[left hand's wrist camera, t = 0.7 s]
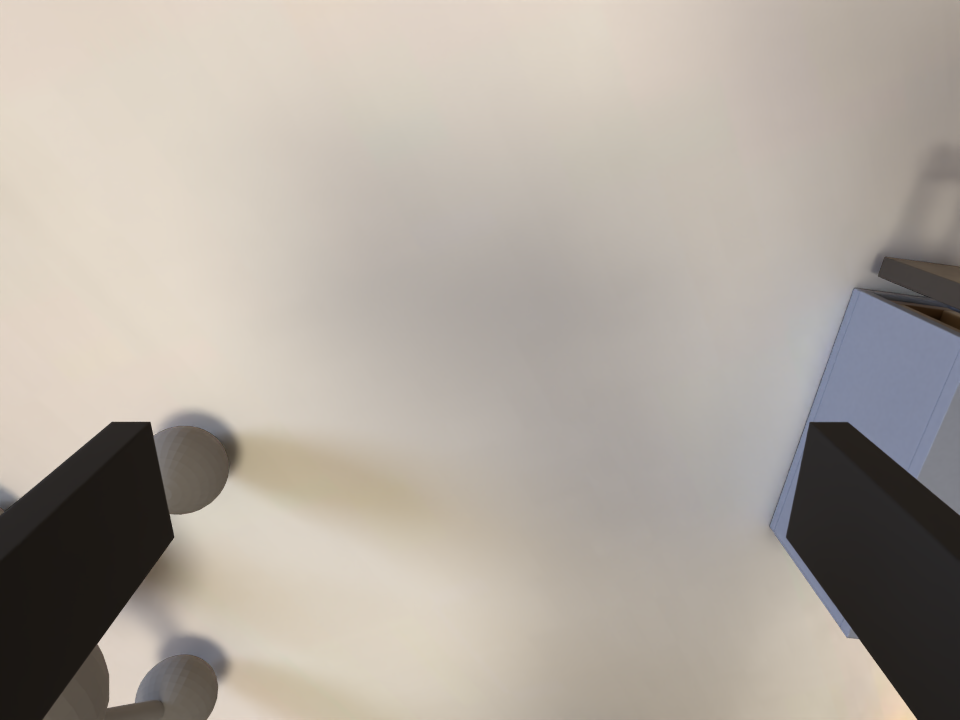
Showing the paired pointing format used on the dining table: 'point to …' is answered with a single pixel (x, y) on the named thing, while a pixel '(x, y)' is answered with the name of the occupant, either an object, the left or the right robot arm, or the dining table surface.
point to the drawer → (927, 287)
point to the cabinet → (889, 401)
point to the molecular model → (179, 679)
